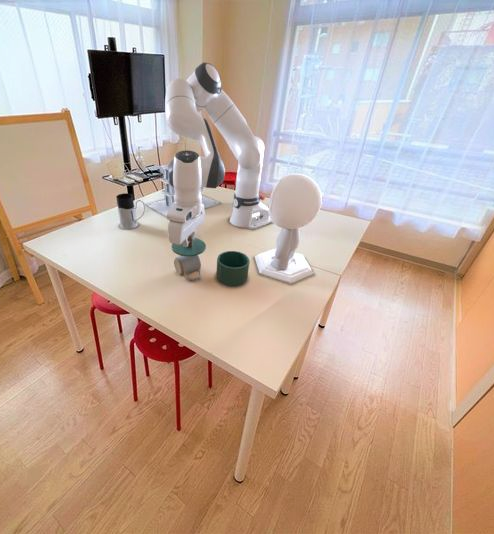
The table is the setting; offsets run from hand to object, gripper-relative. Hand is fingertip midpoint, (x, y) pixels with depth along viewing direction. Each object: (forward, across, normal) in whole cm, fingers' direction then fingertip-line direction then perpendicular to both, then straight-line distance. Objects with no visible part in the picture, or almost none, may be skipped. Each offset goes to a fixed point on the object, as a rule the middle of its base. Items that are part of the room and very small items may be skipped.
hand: (188, 243), depth 95 cm
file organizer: (+13, -60, -33) cm, 69 cm away
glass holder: (+13, -24, -42) cm, 50 cm away
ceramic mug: (+13, 0, 0) cm, 13 cm away
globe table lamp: (+13, -20, +31) cm, 39 cm away
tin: (+13, -4, +16) cm, 20 cm away
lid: (+2, 0, 0) cm, 2 cm away
